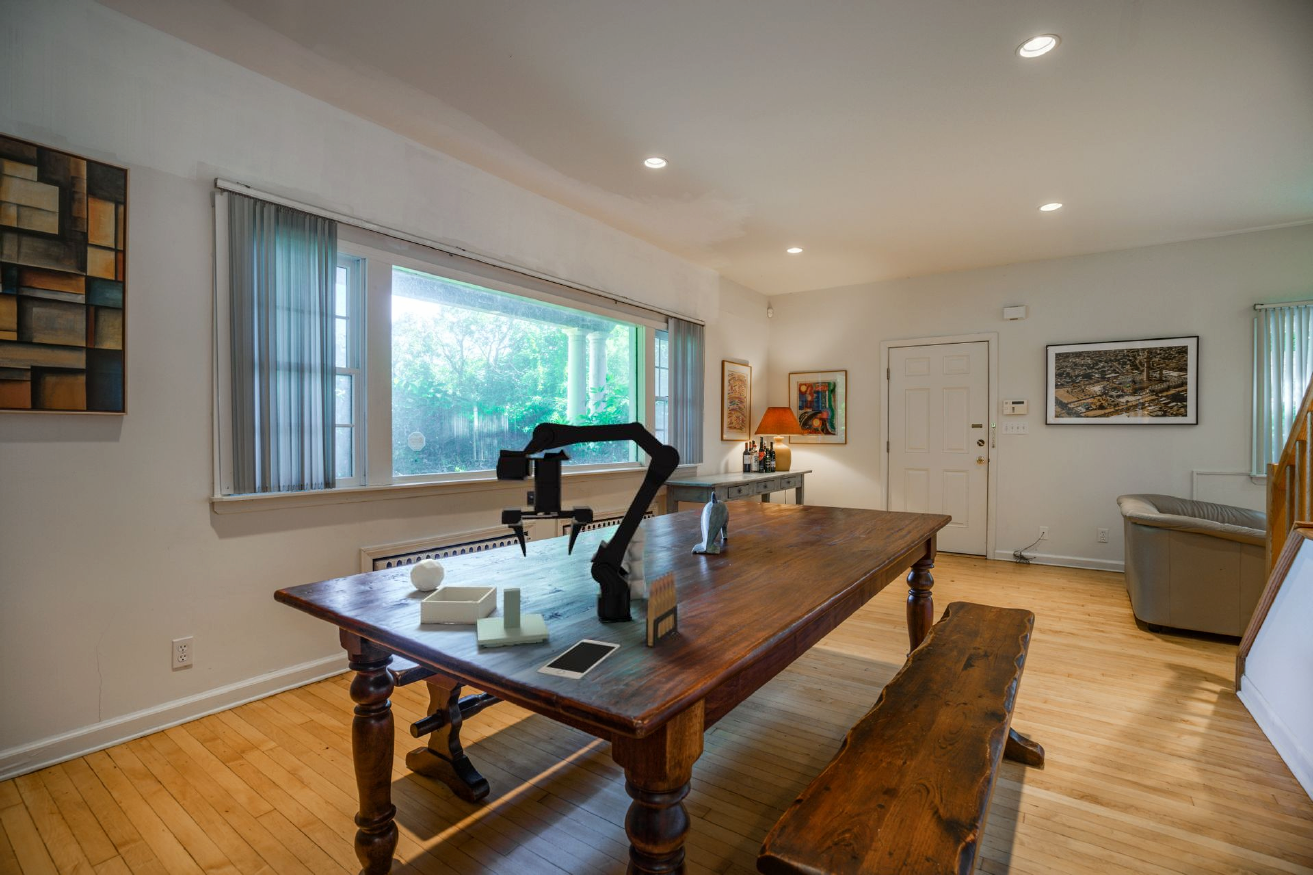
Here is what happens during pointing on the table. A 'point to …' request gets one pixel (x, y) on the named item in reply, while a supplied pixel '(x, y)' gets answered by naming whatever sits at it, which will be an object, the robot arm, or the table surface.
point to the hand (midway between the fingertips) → (547, 555)
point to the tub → (458, 604)
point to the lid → (511, 625)
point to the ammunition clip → (661, 610)
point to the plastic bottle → (635, 564)
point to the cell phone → (579, 659)
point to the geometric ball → (427, 575)
